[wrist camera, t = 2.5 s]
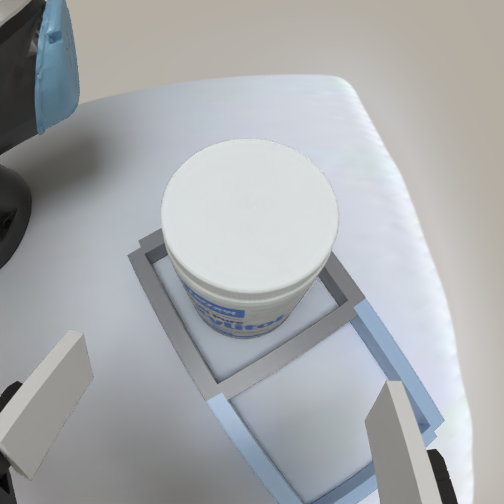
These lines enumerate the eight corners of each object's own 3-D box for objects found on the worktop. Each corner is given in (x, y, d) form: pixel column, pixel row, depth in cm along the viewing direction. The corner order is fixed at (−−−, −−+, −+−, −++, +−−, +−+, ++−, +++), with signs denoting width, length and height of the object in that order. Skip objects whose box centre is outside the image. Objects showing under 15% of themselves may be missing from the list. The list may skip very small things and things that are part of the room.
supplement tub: (198, 346, 27) (155, 310, 14) (188, 248, 31) (152, 146, 17) (306, 330, 28) (365, 278, 14) (286, 235, 32) (315, 129, 18)
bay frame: (132, 258, 30) (124, 248, 28) (268, 186, 34) (270, 172, 31) (300, 524, 20) (305, 534, 18) (434, 424, 24) (447, 425, 22)
